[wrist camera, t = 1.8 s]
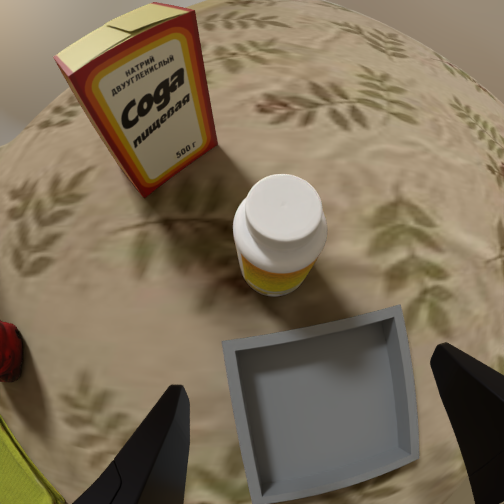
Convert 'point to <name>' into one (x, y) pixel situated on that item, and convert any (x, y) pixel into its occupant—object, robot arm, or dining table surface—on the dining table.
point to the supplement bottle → (279, 233)
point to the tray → (323, 405)
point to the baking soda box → (145, 91)
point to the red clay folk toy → (10, 352)
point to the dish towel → (22, 475)
